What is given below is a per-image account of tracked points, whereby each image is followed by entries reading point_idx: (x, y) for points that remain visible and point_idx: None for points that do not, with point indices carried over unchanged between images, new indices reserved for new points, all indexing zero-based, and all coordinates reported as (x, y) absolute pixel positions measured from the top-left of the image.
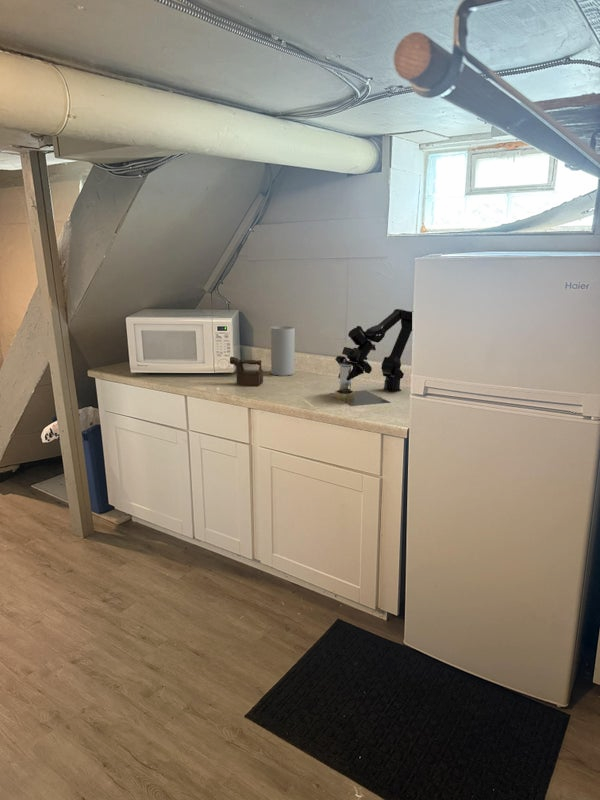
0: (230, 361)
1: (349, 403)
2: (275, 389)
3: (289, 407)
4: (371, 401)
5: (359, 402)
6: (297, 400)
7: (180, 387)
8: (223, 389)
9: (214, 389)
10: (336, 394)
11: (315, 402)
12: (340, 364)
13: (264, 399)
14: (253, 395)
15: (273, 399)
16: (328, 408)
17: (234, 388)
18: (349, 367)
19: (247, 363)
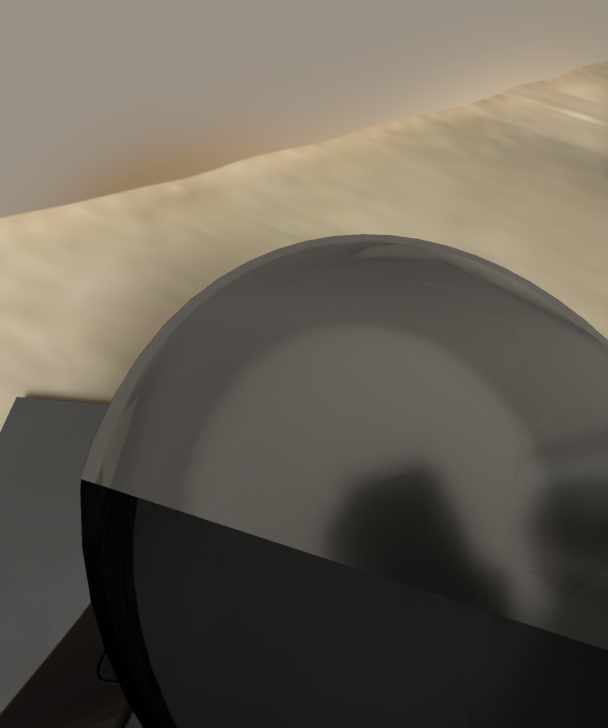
0: None
1: (89, 426)
2: (577, 245)
3: (241, 160)
4: (3, 694)
5: (59, 528)
6: (348, 232)
7: (590, 67)
8: (569, 121)
9: (569, 106)
10: None
11: None
12: (389, 244)
13: (403, 150)
14: (473, 149)
15: (394, 171)
16: (118, 278)
17: (586, 147)
18: (152, 556)
19: None
